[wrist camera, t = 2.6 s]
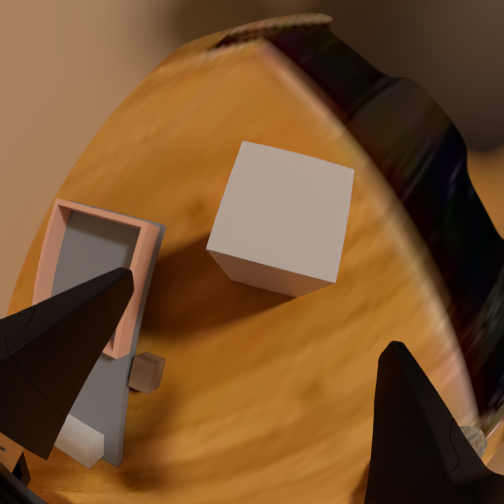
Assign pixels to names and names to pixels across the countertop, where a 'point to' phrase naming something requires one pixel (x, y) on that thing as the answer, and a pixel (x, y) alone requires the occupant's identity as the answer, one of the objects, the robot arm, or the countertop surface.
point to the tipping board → (126, 334)
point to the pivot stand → (146, 372)
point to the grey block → (282, 220)
